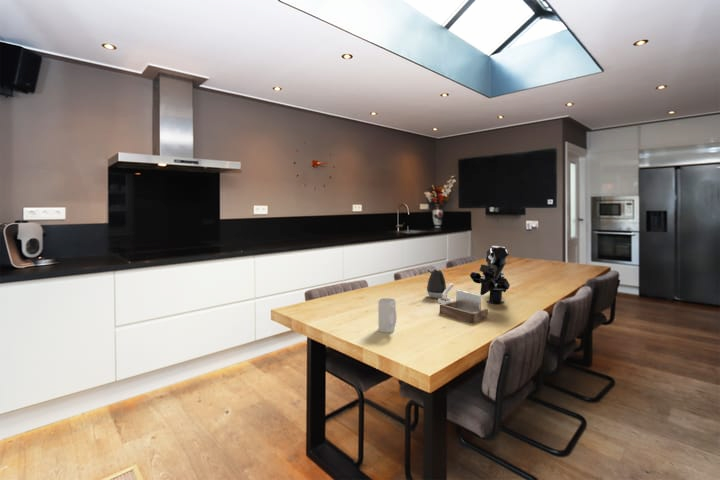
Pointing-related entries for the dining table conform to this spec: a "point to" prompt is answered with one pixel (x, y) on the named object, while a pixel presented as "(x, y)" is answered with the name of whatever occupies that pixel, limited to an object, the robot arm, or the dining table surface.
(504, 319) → the dining table surface
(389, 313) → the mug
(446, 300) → the hook
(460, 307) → the bracket
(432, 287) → the pump dispenser
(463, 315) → the bay
